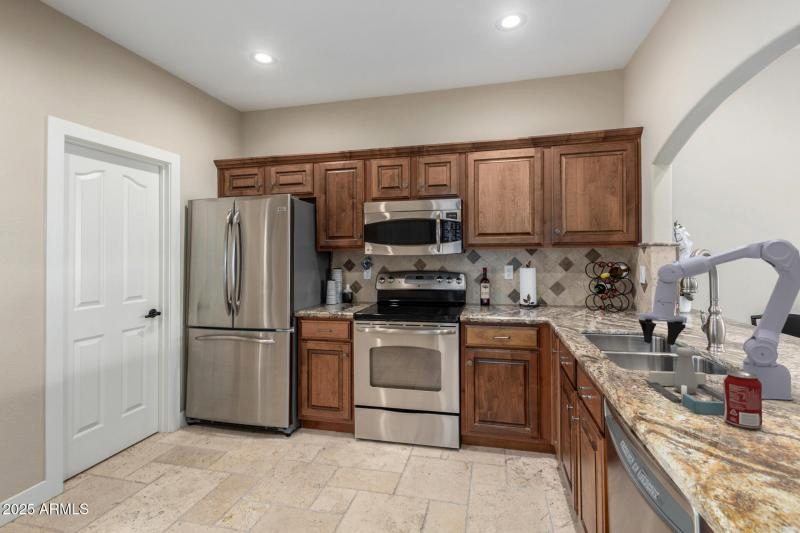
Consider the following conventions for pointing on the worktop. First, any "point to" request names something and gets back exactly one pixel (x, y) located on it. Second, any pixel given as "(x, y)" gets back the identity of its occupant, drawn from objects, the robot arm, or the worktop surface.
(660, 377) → the pusher bar
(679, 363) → the salt shaker
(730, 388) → the soda can
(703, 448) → the worktop surface
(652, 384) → the rails
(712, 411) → the frame
